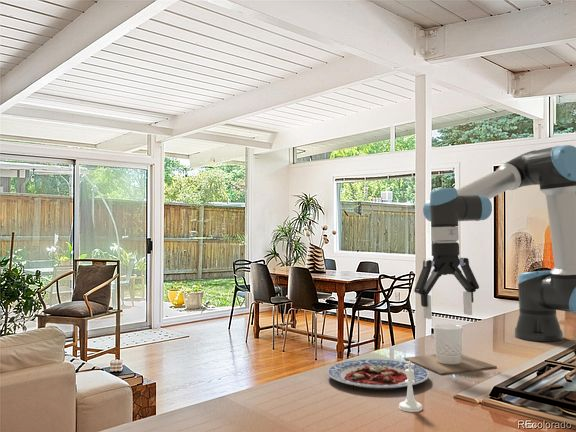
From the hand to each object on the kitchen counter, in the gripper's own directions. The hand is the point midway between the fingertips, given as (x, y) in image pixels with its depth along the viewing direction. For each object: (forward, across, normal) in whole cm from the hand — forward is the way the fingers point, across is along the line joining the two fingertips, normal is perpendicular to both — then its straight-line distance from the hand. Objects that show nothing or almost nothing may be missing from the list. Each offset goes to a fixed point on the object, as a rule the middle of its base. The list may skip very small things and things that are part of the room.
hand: (448, 316), depth 147 cm
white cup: (+13, 0, 0) cm, 13 cm away
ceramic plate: (+14, -26, -6) cm, 30 cm away
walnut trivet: (+13, 0, 0) cm, 13 cm away
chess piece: (+13, -30, -28) cm, 43 cm away
